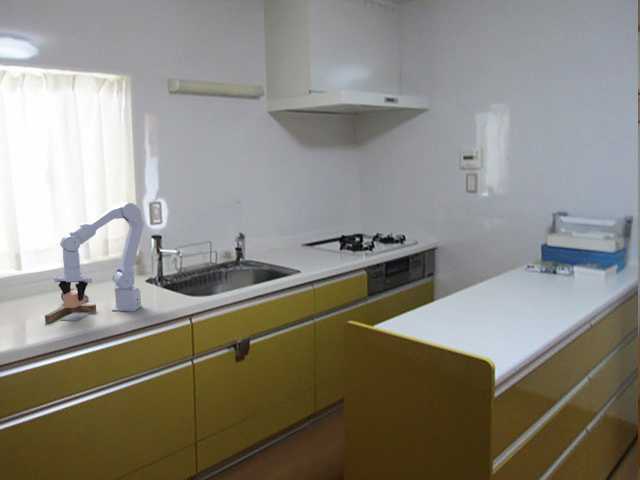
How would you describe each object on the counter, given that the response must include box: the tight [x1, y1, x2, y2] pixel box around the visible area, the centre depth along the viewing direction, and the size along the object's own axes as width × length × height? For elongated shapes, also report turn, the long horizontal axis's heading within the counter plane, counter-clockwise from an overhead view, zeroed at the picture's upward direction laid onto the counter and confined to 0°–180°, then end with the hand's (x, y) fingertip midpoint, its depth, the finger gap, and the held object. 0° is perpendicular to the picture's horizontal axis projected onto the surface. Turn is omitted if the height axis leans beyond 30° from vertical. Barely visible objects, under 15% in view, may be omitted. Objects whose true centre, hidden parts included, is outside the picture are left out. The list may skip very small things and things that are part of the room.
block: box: [62, 290, 86, 308], centre depth 216 cm, size 8×4×5 cm, turn 176°
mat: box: [60, 312, 92, 322], centre depth 217 cm, size 7×10×1 cm
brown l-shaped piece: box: [44, 303, 97, 324], centre depth 217 cm, size 12×16×3 cm
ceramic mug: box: [60, 282, 90, 303], centre depth 238 cm, size 11×8×8 cm
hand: (74, 300), depth 216 cm, fingers closed on block, 5 cm apart
